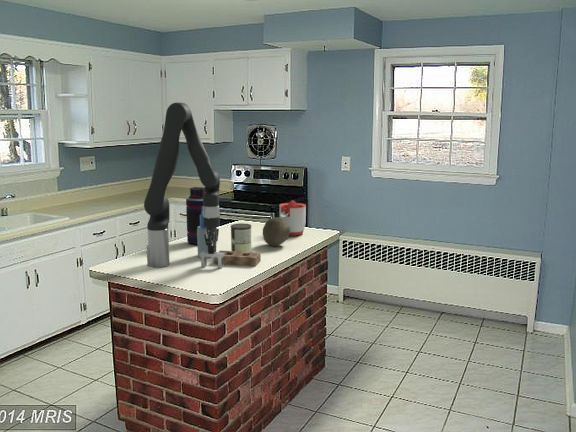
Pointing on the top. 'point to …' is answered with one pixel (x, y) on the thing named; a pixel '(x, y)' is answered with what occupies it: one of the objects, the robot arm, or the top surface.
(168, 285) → the top surface
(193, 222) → the dark navy bottle
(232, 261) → the wooden block with holes
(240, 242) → the coffee can
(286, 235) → the cantaloupe
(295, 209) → the citrus juicer
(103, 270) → the top surface
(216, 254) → the clip
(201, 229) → the spray bottle
